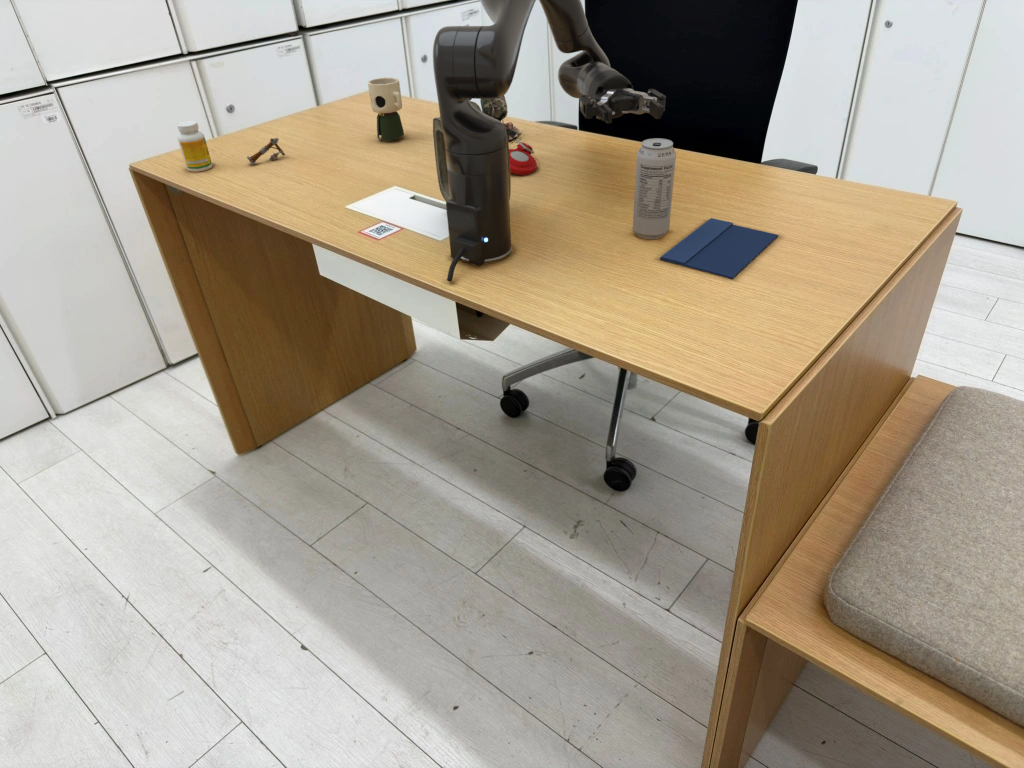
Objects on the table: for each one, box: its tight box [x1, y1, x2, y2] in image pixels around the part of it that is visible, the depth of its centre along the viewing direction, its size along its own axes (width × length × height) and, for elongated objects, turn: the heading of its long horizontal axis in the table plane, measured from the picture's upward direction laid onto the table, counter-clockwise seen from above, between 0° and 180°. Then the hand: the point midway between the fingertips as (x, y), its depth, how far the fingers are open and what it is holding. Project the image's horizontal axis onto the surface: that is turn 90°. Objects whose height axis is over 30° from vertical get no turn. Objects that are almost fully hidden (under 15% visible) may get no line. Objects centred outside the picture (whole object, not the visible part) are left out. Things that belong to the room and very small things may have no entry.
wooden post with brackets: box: [246, 137, 286, 166], centre depth 158 cm, size 2×8×4 cm, turn 125°
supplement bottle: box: [177, 120, 213, 173], centre depth 153 cm, size 5×5×10 cm
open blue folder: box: [659, 217, 779, 280], centre depth 113 cm, size 18×12×1 cm, turn 142°
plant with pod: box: [479, 95, 521, 142], centre depth 160 cm, size 8×11×20 cm
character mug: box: [367, 77, 405, 142], centre depth 164 cm, size 11×7×13 cm, turn 47°
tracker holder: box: [509, 140, 538, 176], centre depth 148 cm, size 12×4×10 cm
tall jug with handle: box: [432, 98, 512, 202], centre depth 119 cm, size 14×9×25 cm, turn 21°
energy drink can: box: [631, 137, 677, 240], centre depth 115 cm, size 6×6×15 cm
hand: (635, 114), depth 119 cm, fingers open, 8 cm apart
